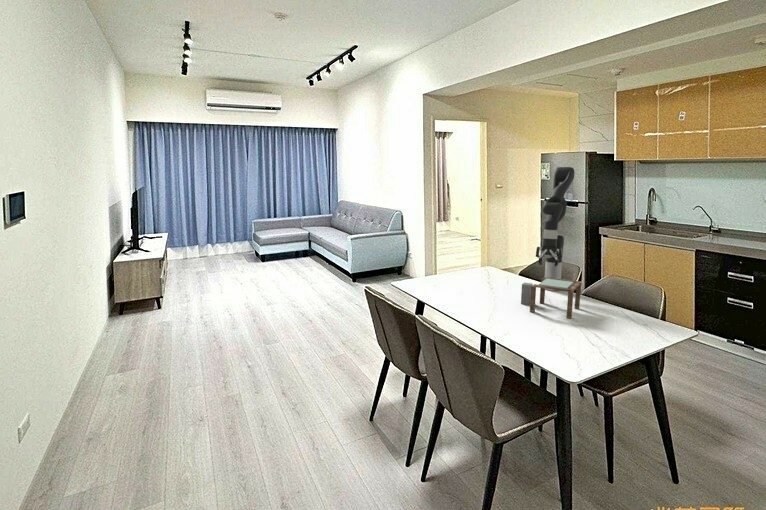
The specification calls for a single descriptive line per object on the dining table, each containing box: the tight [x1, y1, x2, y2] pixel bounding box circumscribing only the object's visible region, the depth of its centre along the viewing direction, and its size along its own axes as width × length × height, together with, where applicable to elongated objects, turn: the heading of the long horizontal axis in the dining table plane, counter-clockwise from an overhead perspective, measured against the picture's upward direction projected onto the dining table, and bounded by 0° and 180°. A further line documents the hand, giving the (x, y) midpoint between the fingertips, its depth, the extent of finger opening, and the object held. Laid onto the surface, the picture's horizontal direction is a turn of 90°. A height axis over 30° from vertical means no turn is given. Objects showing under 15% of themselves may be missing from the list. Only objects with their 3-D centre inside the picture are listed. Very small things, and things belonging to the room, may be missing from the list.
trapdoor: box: [538, 279, 575, 289], centre depth 237 cm, size 14×15×1 cm
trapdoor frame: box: [529, 276, 582, 320], centre depth 238 cm, size 20×20×14 cm
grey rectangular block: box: [520, 282, 534, 306], centre depth 251 cm, size 4×4×11 cm
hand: (548, 265), depth 266 cm, fingers open, 8 cm apart
